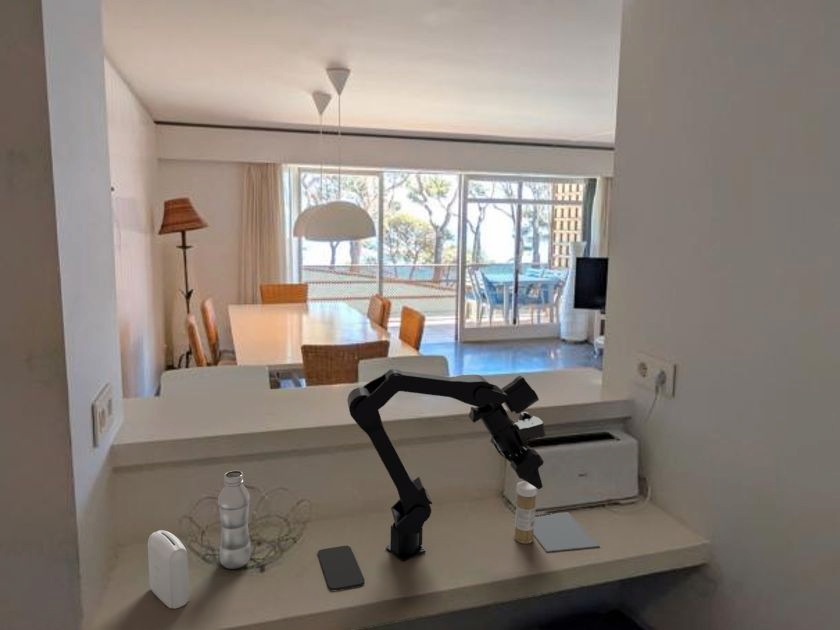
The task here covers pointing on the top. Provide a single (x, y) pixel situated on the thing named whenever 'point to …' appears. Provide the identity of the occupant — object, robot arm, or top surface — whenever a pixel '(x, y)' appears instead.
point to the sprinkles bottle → (525, 512)
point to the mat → (561, 533)
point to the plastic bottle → (234, 522)
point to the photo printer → (168, 569)
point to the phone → (340, 568)
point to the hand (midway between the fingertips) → (532, 478)
